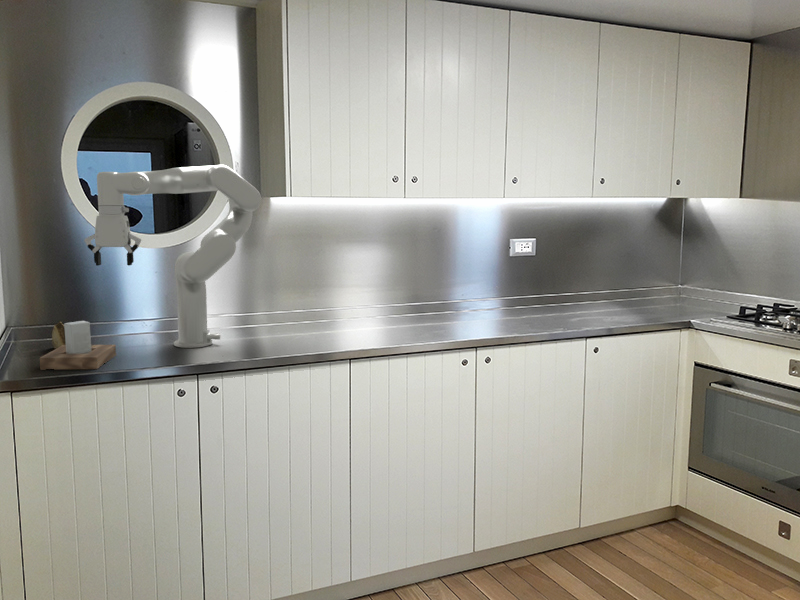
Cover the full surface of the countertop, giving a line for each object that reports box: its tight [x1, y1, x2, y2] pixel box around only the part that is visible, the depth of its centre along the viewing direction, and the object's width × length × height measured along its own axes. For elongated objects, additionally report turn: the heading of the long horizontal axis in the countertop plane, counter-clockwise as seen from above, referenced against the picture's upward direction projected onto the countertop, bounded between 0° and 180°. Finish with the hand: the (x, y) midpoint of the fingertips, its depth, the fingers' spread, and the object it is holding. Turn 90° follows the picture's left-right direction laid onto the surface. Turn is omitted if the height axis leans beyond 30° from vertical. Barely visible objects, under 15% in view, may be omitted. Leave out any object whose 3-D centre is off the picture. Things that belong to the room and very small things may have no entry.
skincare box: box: [63, 320, 92, 354], centre depth 214 cm, size 6×4×12 cm
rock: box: [51, 321, 66, 349], centre depth 233 cm, size 11×9×10 cm
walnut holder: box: [39, 344, 117, 371], centre depth 215 cm, size 16×18×4 cm
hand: (114, 265), depth 227 cm, fingers open, 9 cm apart
